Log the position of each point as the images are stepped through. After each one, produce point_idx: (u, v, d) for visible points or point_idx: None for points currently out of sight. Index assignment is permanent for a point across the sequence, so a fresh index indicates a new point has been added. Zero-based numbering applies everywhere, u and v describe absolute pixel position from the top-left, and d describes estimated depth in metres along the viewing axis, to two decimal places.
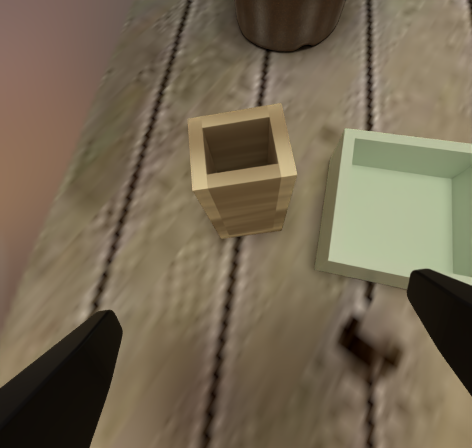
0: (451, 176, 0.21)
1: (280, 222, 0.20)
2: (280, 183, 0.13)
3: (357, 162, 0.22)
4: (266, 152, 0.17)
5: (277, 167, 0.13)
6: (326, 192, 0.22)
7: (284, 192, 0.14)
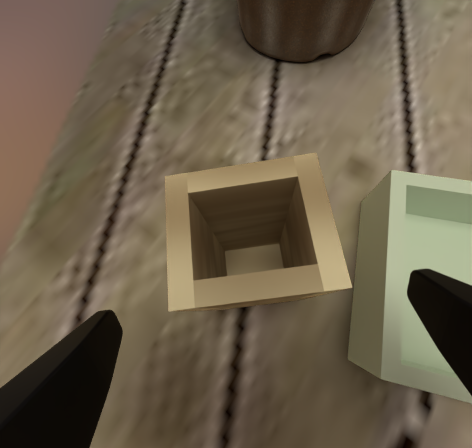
0: None
1: None
2: (319, 292, 0.08)
3: None
4: (286, 213, 0.12)
5: (316, 271, 0.07)
6: (360, 248, 0.17)
7: (320, 293, 0.09)
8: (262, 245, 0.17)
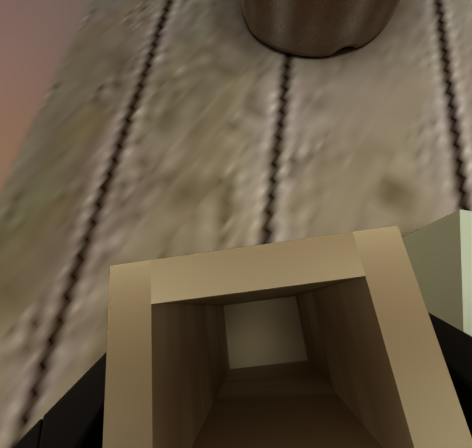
0: None
1: None
2: None
3: None
4: (317, 289, 0.07)
5: None
6: None
7: None
8: (273, 298, 0.13)
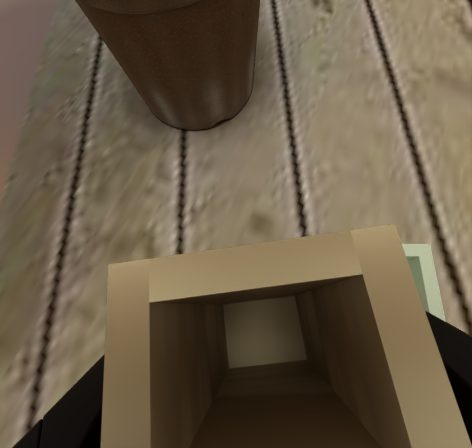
0: None
1: None
2: None
3: None
4: (316, 288, 0.08)
5: None
6: None
7: None
8: (272, 298, 0.13)
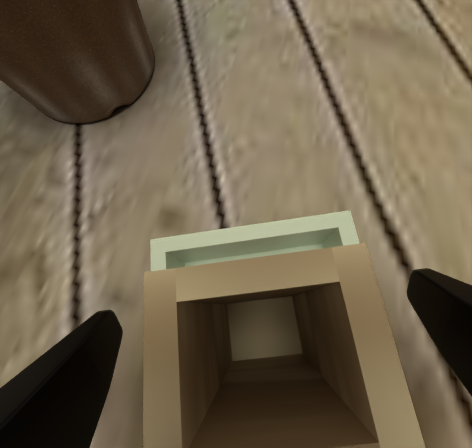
0: (319, 242, 0.16)
1: None
2: None
3: (202, 259, 0.16)
4: (308, 290, 0.09)
5: None
6: None
7: None
8: (272, 298, 0.14)
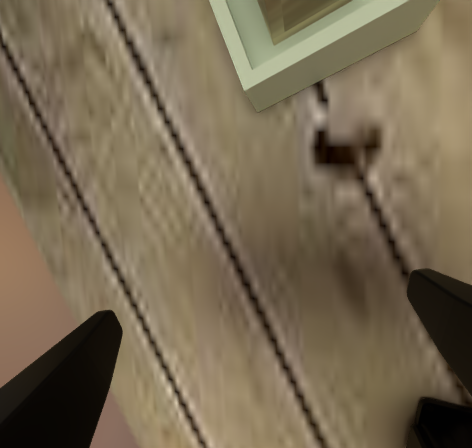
0: None
1: None
2: None
3: None
4: None
5: None
6: None
7: None
8: None
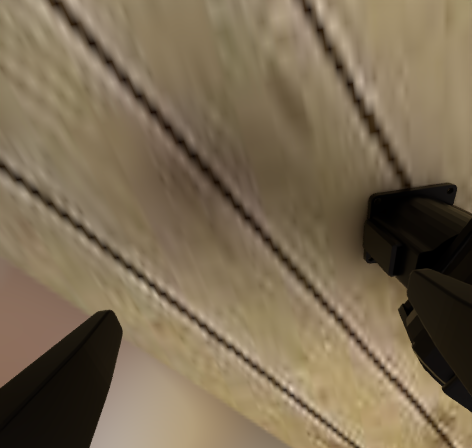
0: None
1: None
2: None
3: None
4: None
5: None
6: None
7: None
8: None
